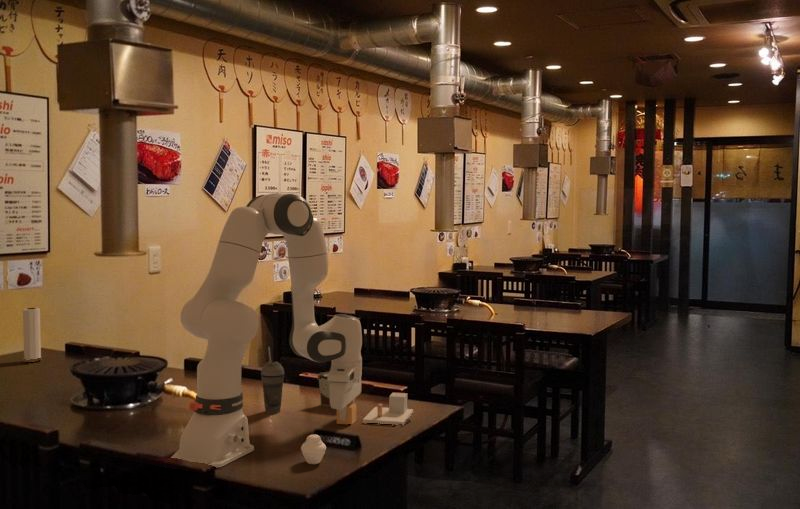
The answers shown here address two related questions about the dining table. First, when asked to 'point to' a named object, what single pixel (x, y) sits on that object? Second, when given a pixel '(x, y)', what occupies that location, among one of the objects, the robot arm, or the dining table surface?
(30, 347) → the paper towel roll
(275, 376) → the beverage cup
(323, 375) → the food container
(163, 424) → the dining table surface
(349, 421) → the orange cube
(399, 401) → the plate
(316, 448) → the muffin
